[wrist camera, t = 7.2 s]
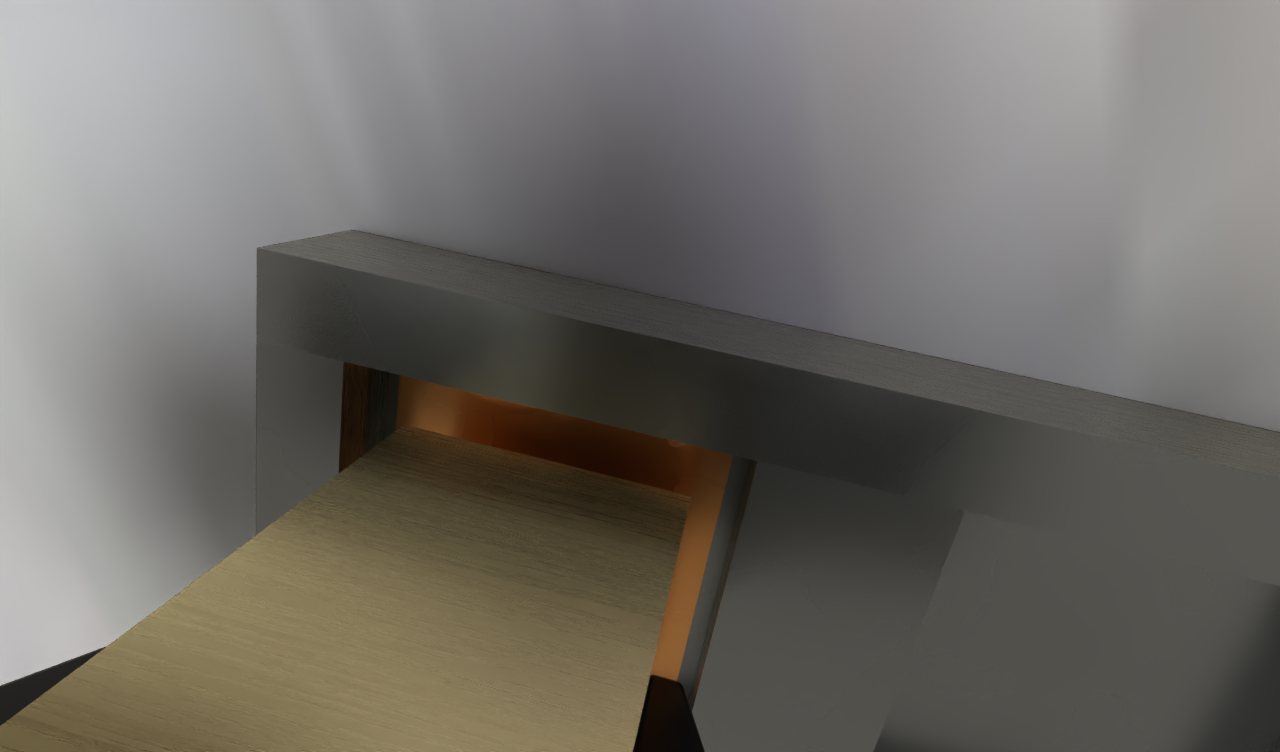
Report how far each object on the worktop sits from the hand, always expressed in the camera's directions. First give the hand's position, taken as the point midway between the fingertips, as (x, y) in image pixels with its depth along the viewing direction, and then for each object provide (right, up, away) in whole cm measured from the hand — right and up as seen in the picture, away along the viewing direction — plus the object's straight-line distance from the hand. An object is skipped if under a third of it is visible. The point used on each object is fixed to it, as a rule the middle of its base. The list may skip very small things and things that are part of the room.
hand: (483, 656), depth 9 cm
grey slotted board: (+4, 0, +3) cm, 5 cm away
